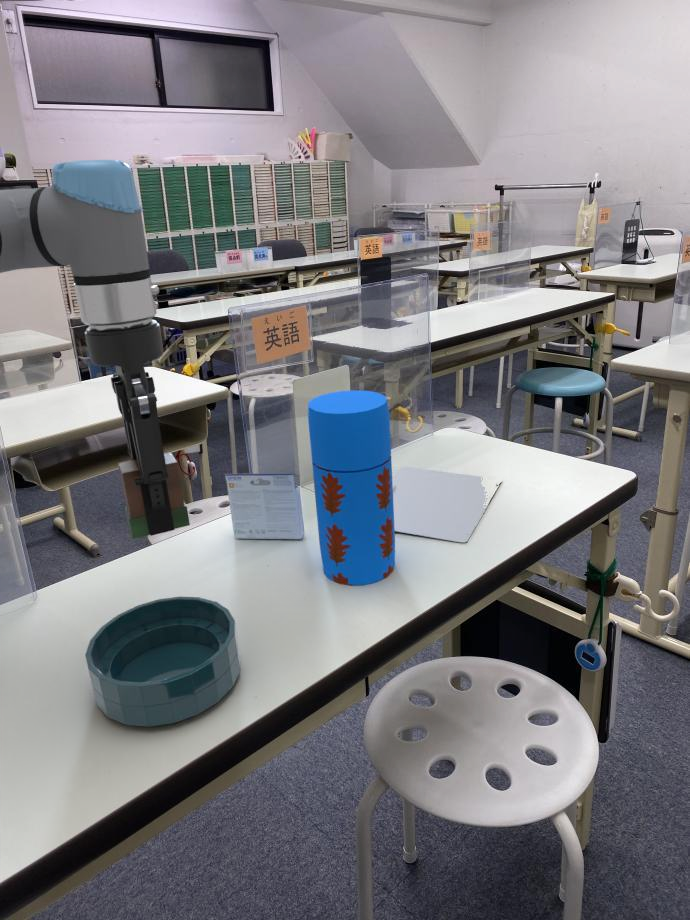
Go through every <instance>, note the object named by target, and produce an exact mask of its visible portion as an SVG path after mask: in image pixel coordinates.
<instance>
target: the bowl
mask: <svg viewBox="0 0 690 920" xmlns="http://www.w3.org/2000/svg"><path fill="white" fill-rule="evenodd" d="M85 661H86V664H87V665H86V666H87V670H88V673H89V677H90V682H91V685H92V689H93V694H94V697H95V701H96V705H97V707H98V708H99V710H100V711H102V712H103V714H105V716H106V717H107V718H108V719H111V720H113V721H116V722H118V723H120V724H124V725H126V726H136V727H137V726H138V727H151V728H152V727H156V726H162V725H170V724H175V723H178V722H180V721H184V720H186V719H189V718H192V717H195V716H197V715H200V714H201V713H203V712H204V711H206V710H208V709H209V708H211V707H212V706H214V705H215V704H217V703H218V702H220V701H221V699H223V698H224V696H225V695H226V694H227V693H228V692H229V691H230V690H231V689H232V688H233V687H234V685H235V683H236V681H237V679H238V676H239V675H240V672H241V652H240V645H239V639H238V633H237V626H236V620H235V618H234V616H233V615H232V613H231V612H230V610H229V609H228V608H226V607H225V606H224V605H222V604H221V603H219V602H218V601H215V600H211V599H207V598H205V597H200V596H172V597H166V598H159V599H155V600H152V601H147V602H144V603H141V604H138V605H135V606H133V607H132V608H129V609H127V610H125V611H123V612H121V613H119V614H117V615H115V616H114V617H113V618H112V619H110V620H109V621H107V622H106V623H104V624H103V625H102V626H101V627H100V628H99V629H98V631H96V632H95V634H94V635H93V636H92V638H91V639H90V640H89V643H88V646H87V649H86V652H85Z"/></svg>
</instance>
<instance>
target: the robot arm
mask: <svg viewBox="0 0 690 920" xmlns="http://www.w3.org/2000/svg"><path fill="white" fill-rule="evenodd" d="M51 184H52V185H48V186H42V187H39V188H37V187H36V188H35V187H34V188H16V189H14V188H13V189H0V274H2V273H6V272H11V271H17V270H25V269H26V270H27V269H38V268H39V269H40V268H51V267H60V268H61V267H67V266H69V267H70V271H71V274H72V278H73V286H74V291H75V296H76V303H77V306H78V311H79V312H78V313H79V317H80V322H82V323H83V324H84V325H87V326H88V327H87V328H86V329H85V331H84V337H85V342H86V346H87V347H86V348H87V352H88V355H89V357H88V358H89V361H90V362H91V363H92V364H93V365H94V366H97V367H102V368H112V367H115V372H113V373H112V377H110V382H111V387H112V390H113V393H114V394H115V397H116V403H117V407H118V411H119V413H120V415H121V418H122V423H123V428H124V433H125V439H126V443H127V453H128V455H129V456H130V457H131V459H130V461H131V460H136V459H137V461H138V466H139V470H140V475H141V476H140V478H138V479H134V481H135V485H140V486H141V491H142V497H143V502H144V507H145V512H146V518H147V523H148V528H149V533H150V535H149V536H150V537H153V536H155V535H159V534H163V533H164V534H165V533H168V532H173V531H175V529H174V524H173V518H172V512H171V507H170V501H169V495H168V490H167V484H166V479H168V471H167V469H166V463H165V457H164V454H165V452H164V446H163V440H162V432H161V427H160V421H159V416H158V415H159V414H158V405H157V402H158V399H157V396H156V394H155V392H156V386H155V382H154V377H153V376H152V375H151V376H150V374H149V371H146V370H145V366H144V365H145V364H146V363H148V362H153V361H155V360H157V359H159V358H160V357H162V356H163V354H164V346H163V344H164V343H163V339H162V338H163V337H162V334H161V333H162V332H161V327H160V323H159V322H158V321H157V320H155V319H153V318H154V317H155V316H156V315H157V307H156V306H157V305H156V300H155V299H154V296H157V295H159V293H160V288H159V287H158V285H156V284H153V285H152V283H153V282H152V278H151V276H152V273H151V269H150V264H149V258H148V251H147V242H146V236H145V230H144V224H143V223H144V222H143V216H142V213H143V209H142V206H141V204H140V200H139V196H138V192H137V191H138V190H137V187H136V182H135V178H134V173H133V171H132V168H131V167H130V166H129V165H128V164H127V163H126V162H124V161H122V160H118V159H88V160H87V159H86V160H73V161H66V162H58V163H55V164H54V165H53V166H52V169H51Z"/></svg>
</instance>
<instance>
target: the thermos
mask: <svg viewBox="0 0 690 920" xmlns="http://www.w3.org/2000/svg"><path fill="white" fill-rule="evenodd" d="M307 422H308V423H307V424H308V433H309V443H310V456H311V466H312V476H313V477H312V478H313V484H314V485H313V487H314V500H315V509H316V522H317V532H318V543H319V550H320V555H321V562H322V569H323V574H324V575H325V576H326V577H327V578H328V579H329V580H330V581H333V582H335V583H337V584H340V585H346V586H366V585H371V584H375V583H377V582H381V581H382V580H384V579H386V578H388V576H390V574H392V573H393V572H394V568H395V565H396V564H395V563H396V531H395V528H394V506H393V484H392V476H393V468H392V467H393V466H392V464H393V463H392V445H391V443H392V442H391V441H392V440H391V421H390V409H389V402H388V399H387V397H386V395H384V394H382V393H379V392H376V391H371V390H357V389H356V390H341V391H340V390H339V391H334V392H328V393H324V394H321V395H318V396H316V397H314V398H312V399H311V400H310V401H309V402H308V403H307Z"/></svg>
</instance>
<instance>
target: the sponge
mask: <svg viewBox="0 0 690 920" xmlns="http://www.w3.org/2000/svg"><path fill="white" fill-rule="evenodd" d="M164 457H165V463H166V469H167V471H168V479H166V484H167V490H168V495H169V501H170V507H171V512H172V518H173V524H174V530H176V529H179V528H184V527H188V526H190V525H191V524H190V517H189V512H188V511H189V510H188V505H187V504H186V502H185V501H184V494H183V489H182V482H181V477H180V476H181V475H180V470H179V464H178V461H177V460H176V458H175V457H174V455H173V453H172V452H166V453H164ZM117 466H118V471H119V476H120V481H121V486H122V492H123V495H124V500H125V501H124V503H125V506H126V507H124V513H125V519H126V523H127V527H128V530H129V532H130V535H131V538H132V540H135V539H139V538H143V537H147V536H150V533H149V528H148V523H147V518H146V512H145V507H144V502H143V497H142V491H141V486H140V485H135V481H134V479H138V478H140V476H141V475H140V470H139V466H138V461H137V459H136V460H131V459H130V460H127V461H122V462H118V463H117Z"/></svg>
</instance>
